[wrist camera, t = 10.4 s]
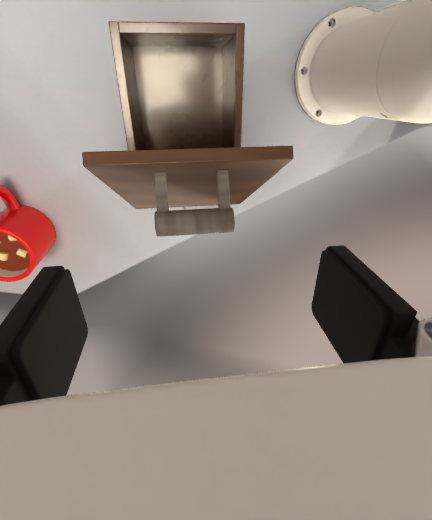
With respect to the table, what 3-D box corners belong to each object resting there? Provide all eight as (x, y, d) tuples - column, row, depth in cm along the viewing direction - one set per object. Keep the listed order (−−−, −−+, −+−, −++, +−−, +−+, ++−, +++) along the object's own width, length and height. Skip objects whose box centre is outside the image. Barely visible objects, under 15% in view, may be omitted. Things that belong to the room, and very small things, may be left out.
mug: (31, 173, 40) (2, 189, 33) (63, 250, 46) (44, 277, 39) (-28, 180, 40) (-70, 199, 33) (12, 257, 46) (-17, 286, 39)
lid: (81, 151, 16) (88, 238, 16) (293, 145, 17) (297, 226, 18) (135, 202, 34) (138, 244, 34) (239, 197, 35) (242, 237, 35)
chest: (125, 38, 34) (108, 21, 26) (228, 39, 35) (244, 23, 27) (143, 181, 42) (136, 204, 34) (226, 178, 44) (239, 199, 35)
